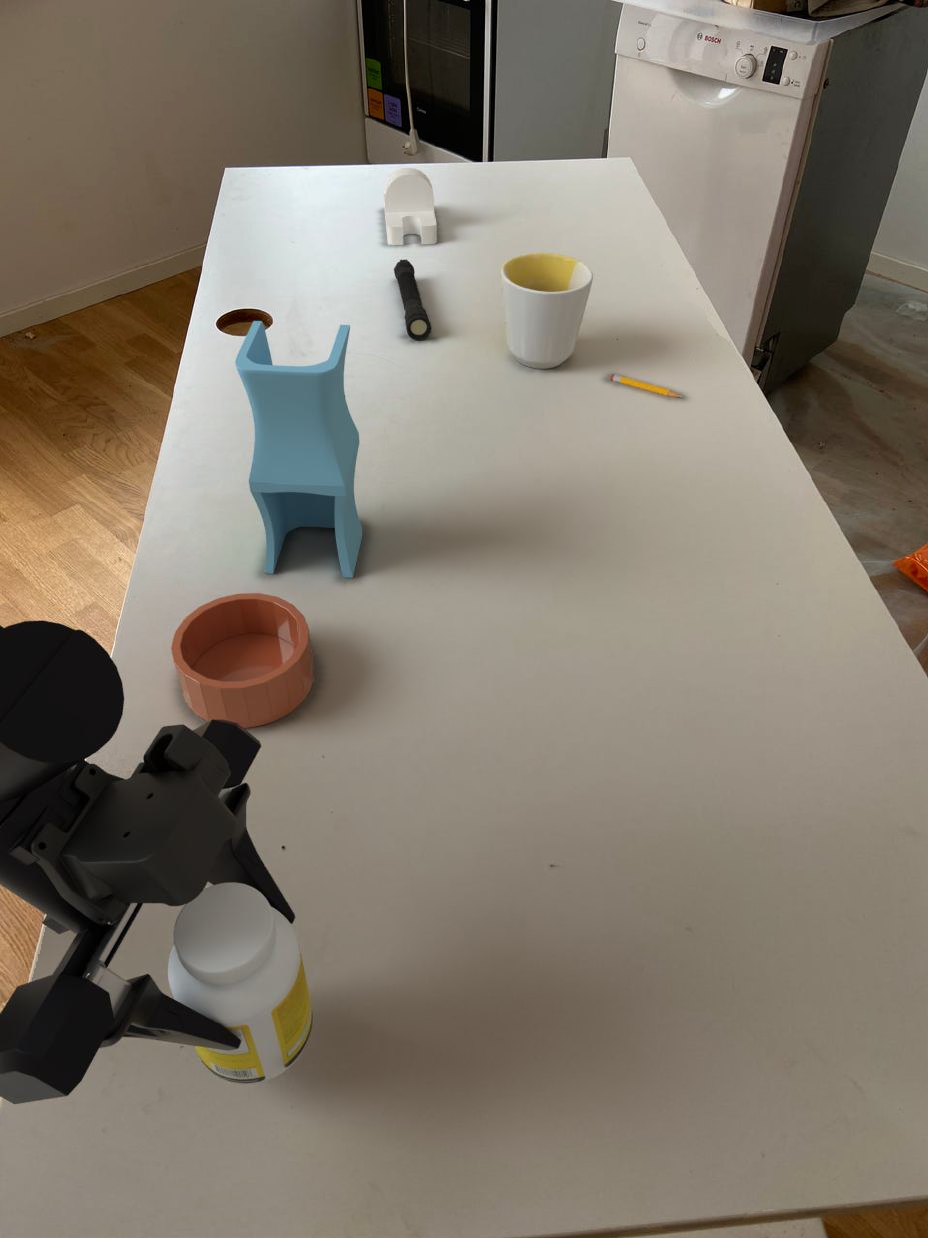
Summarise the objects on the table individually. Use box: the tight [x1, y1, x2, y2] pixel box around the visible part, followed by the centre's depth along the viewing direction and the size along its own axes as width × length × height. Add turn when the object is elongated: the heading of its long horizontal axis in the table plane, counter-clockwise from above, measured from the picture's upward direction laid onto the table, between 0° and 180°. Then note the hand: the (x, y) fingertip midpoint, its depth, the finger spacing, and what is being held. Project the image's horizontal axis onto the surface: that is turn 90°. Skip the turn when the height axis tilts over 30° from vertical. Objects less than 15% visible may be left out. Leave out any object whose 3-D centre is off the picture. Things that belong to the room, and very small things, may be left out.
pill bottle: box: [167, 883, 314, 1085], centre depth 50 cm, size 6×6×12 cm
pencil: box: [609, 373, 683, 398], centre depth 109 cm, size 1×8×1 cm, turn 62°
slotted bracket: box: [383, 167, 438, 246], centre depth 139 cm, size 13×7×8 cm, turn 6°
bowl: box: [170, 592, 315, 729], centre depth 75 cm, size 10×10×4 cm
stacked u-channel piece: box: [234, 320, 363, 579], centre depth 81 cm, size 8×8×20 cm
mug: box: [500, 252, 594, 370], centre depth 112 cm, size 14×10×10 cm
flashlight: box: [393, 258, 433, 342], centre depth 122 cm, size 3×16×3 cm, turn 9°
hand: (263, 981), depth 49 cm, fingers closed on pill bottle, 6 cm apart
